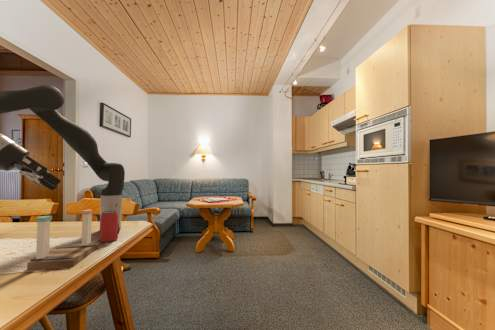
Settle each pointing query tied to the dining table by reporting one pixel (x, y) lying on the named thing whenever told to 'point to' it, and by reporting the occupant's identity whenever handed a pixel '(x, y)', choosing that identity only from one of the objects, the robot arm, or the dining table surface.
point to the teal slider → (43, 236)
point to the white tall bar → (86, 226)
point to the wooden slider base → (63, 256)
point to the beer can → (108, 226)
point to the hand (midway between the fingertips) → (56, 186)
